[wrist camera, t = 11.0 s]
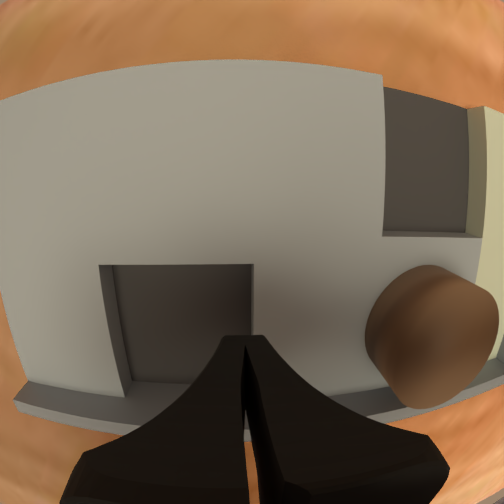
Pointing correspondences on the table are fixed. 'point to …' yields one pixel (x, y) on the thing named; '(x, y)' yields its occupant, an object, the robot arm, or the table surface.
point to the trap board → (231, 228)
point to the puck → (431, 334)
